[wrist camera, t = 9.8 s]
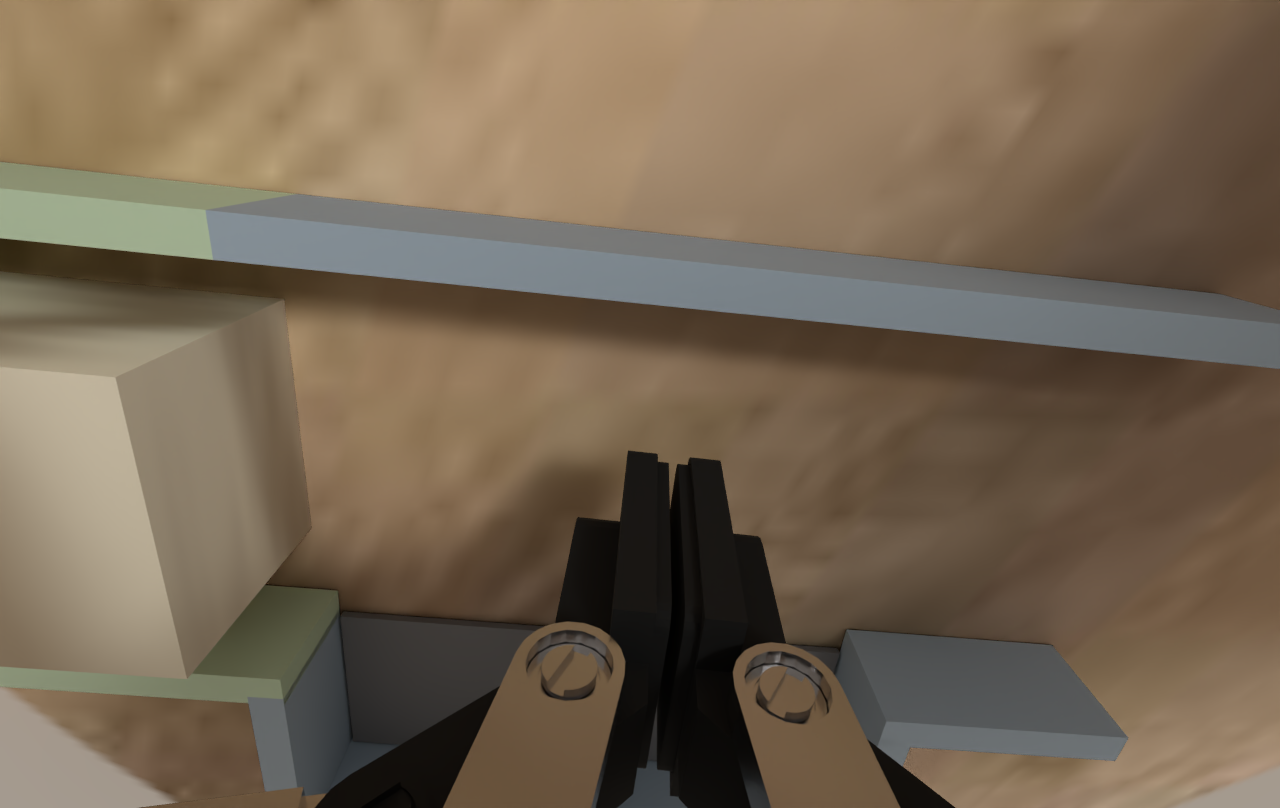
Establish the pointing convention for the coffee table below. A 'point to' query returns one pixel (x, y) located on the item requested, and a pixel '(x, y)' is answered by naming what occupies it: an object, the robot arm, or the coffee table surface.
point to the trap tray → (628, 272)
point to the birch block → (140, 471)
